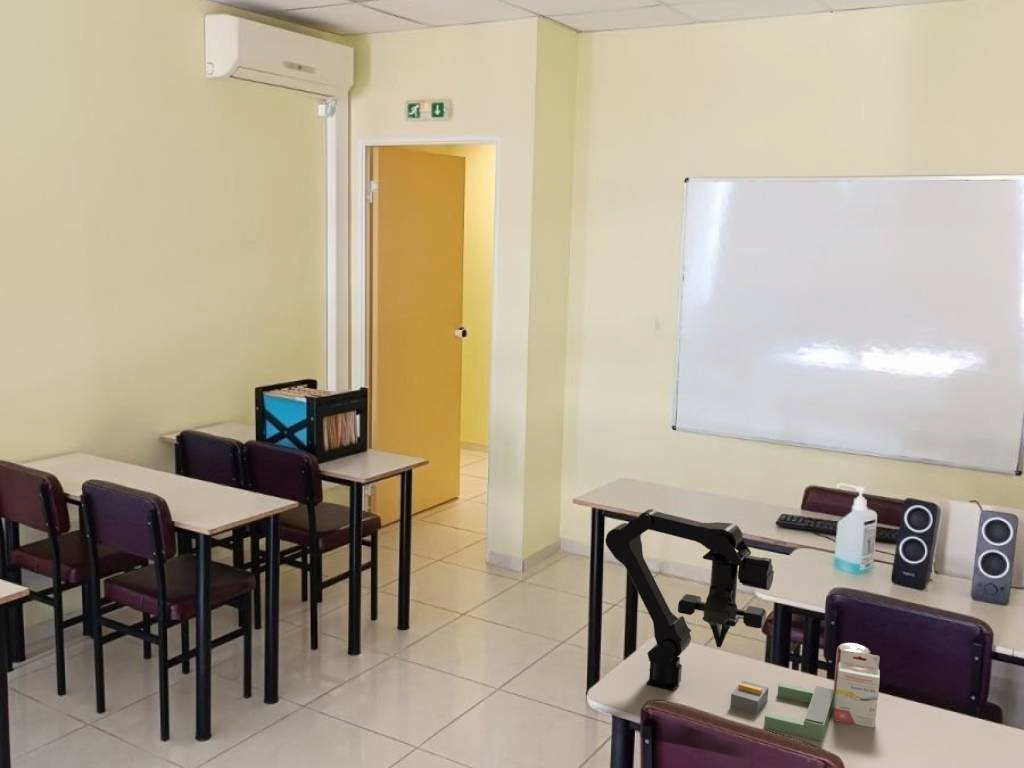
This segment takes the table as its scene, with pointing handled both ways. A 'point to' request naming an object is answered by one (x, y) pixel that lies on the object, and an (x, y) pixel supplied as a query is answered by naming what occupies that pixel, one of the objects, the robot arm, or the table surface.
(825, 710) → the green grey u-shaped block
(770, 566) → the robot arm
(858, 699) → the ink cartridge box
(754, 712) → the grey block orange top
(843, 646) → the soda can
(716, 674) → the table surface
